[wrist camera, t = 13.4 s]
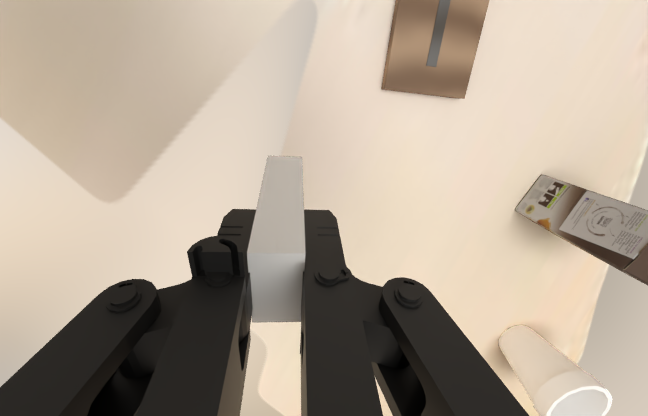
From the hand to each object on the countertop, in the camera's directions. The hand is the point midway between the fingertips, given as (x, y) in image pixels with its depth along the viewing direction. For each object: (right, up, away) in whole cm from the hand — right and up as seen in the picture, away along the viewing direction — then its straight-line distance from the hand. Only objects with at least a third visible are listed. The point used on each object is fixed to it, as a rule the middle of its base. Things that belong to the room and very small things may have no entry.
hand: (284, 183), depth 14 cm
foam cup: (+36, -24, +40) cm, 59 cm away
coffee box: (+35, -1, +31) cm, 47 cm away
